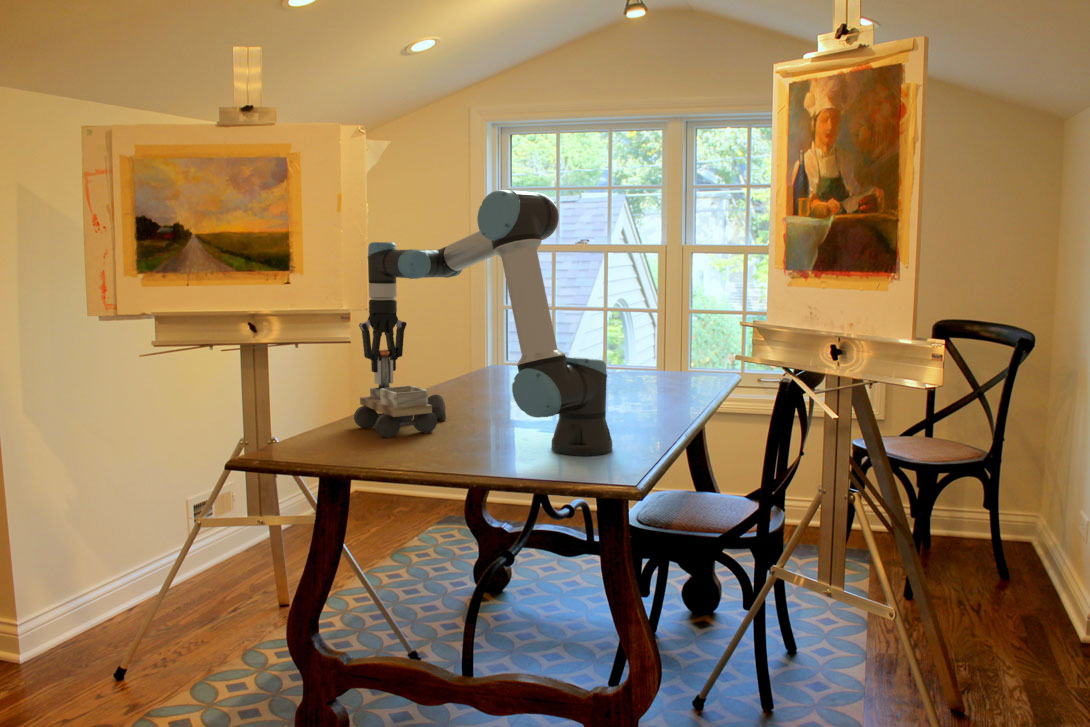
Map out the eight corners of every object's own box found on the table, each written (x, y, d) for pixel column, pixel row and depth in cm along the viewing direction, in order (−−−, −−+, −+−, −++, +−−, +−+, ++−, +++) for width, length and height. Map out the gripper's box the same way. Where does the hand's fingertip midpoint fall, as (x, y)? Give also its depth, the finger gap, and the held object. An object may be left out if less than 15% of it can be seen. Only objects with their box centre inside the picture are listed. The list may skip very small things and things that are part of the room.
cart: (442, 433, 235) (441, 389, 234) (383, 441, 226) (382, 395, 224) (405, 420, 253) (405, 379, 252) (350, 426, 244) (349, 383, 242)
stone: (427, 436, 250) (453, 412, 250) (407, 414, 250) (432, 390, 250) (432, 434, 260) (457, 411, 260) (413, 413, 260) (437, 390, 260)
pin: (392, 397, 244) (392, 350, 242) (380, 398, 242) (380, 351, 240) (387, 395, 247) (386, 349, 245) (375, 397, 245) (374, 350, 243)
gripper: (403, 297, 248) (404, 379, 251) (349, 298, 239) (351, 383, 242) (415, 298, 242) (416, 382, 245) (360, 300, 233) (362, 387, 236)
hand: (383, 383), depth 244 cm, fingers closed on pin, 3 cm apart
